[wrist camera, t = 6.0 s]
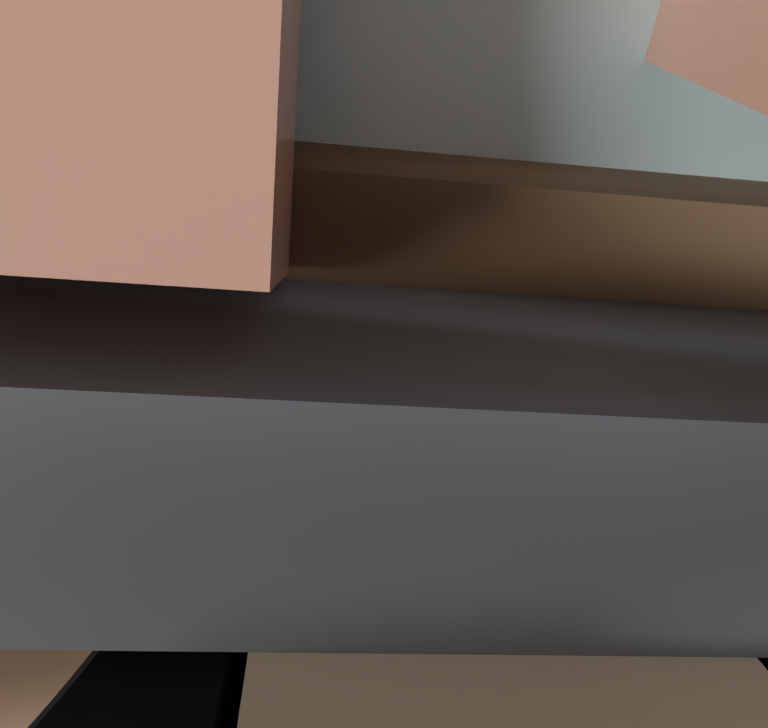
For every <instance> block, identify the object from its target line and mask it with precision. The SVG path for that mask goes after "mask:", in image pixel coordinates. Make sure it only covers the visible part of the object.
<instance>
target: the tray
mask: <svg viewBox="0 0 768 728" xmlns="http://www.w3.org/2000/svg"><path fill="white" fill-rule="evenodd" d="M660 2H661V0H301V16H300V37H299V58H298V79H297V100H296V121H295V141H303V142H315V143H326V144H338V145H349V146H361V147H372V148H384V149H396V150H407V151H419V152H430V153H442V154H453V155H465V156H476V157H488V158H499V159H511V160H522V161H534V162H546V163H557V164H569V165H580V166H592V167H603V168H615V169H626V170H638V171H649V172H661V173H672V174H684V175H696V176H707V177H719V178H730V179H742V180H753V181H765V182H768V116H766V115H764V114H762V113H759V112H757V111H755V110H753V109H751V108H748V107H746V106H744V105H742V104H740V103H737V102H735V101H733V100H731V99H728V98H726V97H724V96H722V95H720V94H717V93H715V92H713V91H711V90H709V89H706V88H704V87H702V86H700V85H698V84H695V83H693V82H691V81H689V80H686V79H684V78H682V77H680V76H678V75H675V74H673V73H671V72H669V71H667V70H664V69H662V68H660V67H658V66H656V65H653V64H651V63H649V62H647V61H644V59H645V55H646V52H647V48H648V45H649V41H650V37H651V34H652V30H653V27H654V23H655V20H656V16H657V13H658V9H659V6H660Z"/></svg>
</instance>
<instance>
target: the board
mask: <svg viewBox="0 0 768 728" xmlns="http://www.w3.org/2000/svg"><path fill="white" fill-rule="evenodd" d="M283 279H296V280H311V281H326V282H341V283H357V284H372V285H387V286H402V287H417V288H433V289H448V290H463V291H478V292H494V293H509V294H524V295H539V296H555V297H570V298H585V299H600V300H615V301H631V302H646V303H661V304H676V305H692V306H707V307H722V308H737V309H753V310H768V182H765V181H753V180H742V179H730V178H719V177H707V176H696V175H684V174H672V173H661V172H649V171H638V170H626V169H615V168H603V167H592V166H580V165H569V164H557V163H546V162H534V161H522V160H511V159H499V158H488V157H476V156H465V155H453V154H442V153H430V152H419V151H407V150H396V149H384V148H372V147H361V146H349V145H338V144H326V143H315V142H303V141H295V143H294V164H293V185H292V206H291V227H290V248H289V269H288V274H287V275H286V276H285V277H284V278H283ZM91 652H92V651H83V650H0V728H28V727H29V725H30V724H31V723H32V722H33V721H34V720H35V719H36V718H37V716H38V715H39V714H40V713H41V712H42V711H43V710H44V708H45V707H46V706H47V705H48V704H49V703H50V702H51V700H52V699H53V698H54V697H55V696H56V694H57V693H58V692H59V691H60V690H61V689H62V687H63V686H64V685H65V684H66V683H67V681H68V680H69V679H70V678H71V677H72V675H73V674H74V673H75V672H76V670H77V669H78V668H79V667H80V666H81V664H82V663H83V662H84V661H85V660H86V658H87V657H88V656H89V655H90V653H91Z"/></svg>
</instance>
